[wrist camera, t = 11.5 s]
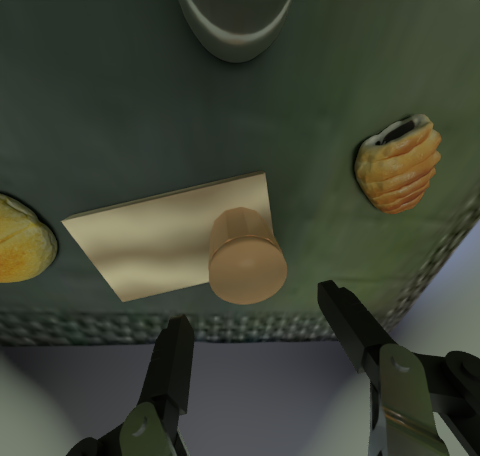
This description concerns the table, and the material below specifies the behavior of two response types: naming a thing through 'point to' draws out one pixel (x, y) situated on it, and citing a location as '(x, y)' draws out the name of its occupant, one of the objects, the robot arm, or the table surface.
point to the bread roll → (23, 242)
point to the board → (163, 234)
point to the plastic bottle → (235, 25)
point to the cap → (244, 258)
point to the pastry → (398, 164)
